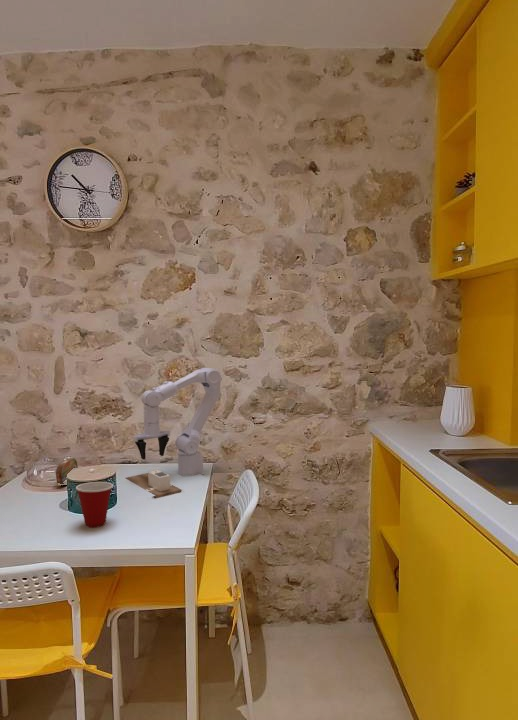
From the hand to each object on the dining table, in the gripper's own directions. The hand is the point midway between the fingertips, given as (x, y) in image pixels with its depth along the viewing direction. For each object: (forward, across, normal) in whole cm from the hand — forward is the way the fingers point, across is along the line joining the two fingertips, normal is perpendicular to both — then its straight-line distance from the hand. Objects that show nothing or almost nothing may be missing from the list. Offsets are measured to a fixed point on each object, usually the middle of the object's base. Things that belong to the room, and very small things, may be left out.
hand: (152, 457), depth 191 cm
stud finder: (+8, +3, +11) cm, 14 cm away
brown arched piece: (+10, +26, -20) cm, 34 cm away
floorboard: (+9, +3, +5) cm, 11 cm away
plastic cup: (+10, +32, +26) cm, 42 cm away
